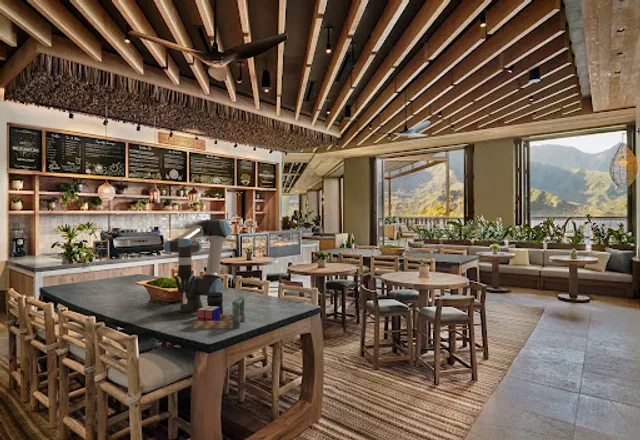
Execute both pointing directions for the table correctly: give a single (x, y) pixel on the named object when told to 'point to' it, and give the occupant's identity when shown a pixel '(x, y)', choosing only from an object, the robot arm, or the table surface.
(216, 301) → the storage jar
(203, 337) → the table surface
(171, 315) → the table surface
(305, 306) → the table surface
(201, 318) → the puzzle cube
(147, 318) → the table surface
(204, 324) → the channel
